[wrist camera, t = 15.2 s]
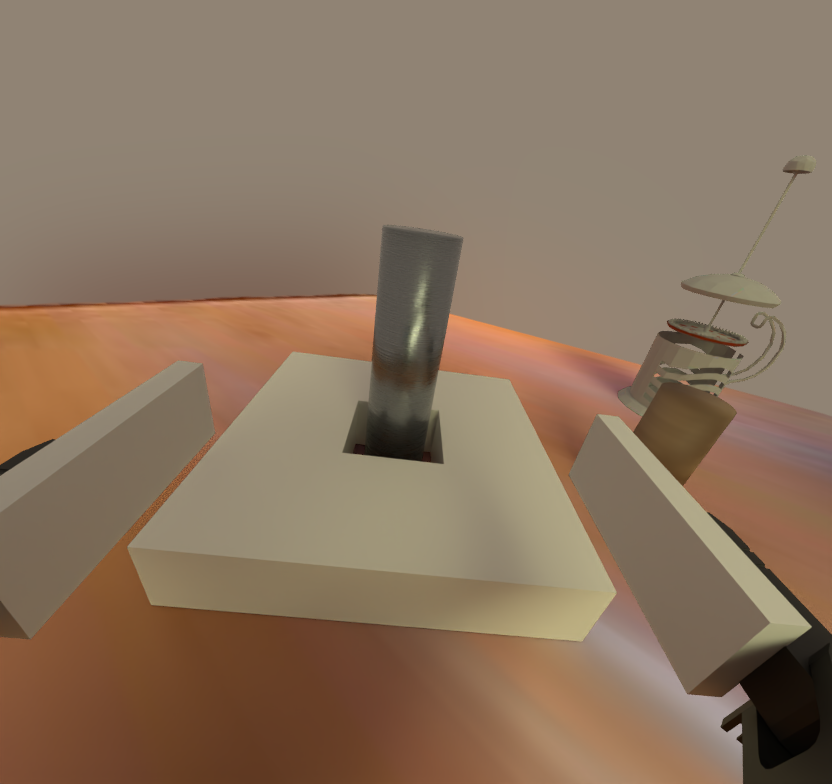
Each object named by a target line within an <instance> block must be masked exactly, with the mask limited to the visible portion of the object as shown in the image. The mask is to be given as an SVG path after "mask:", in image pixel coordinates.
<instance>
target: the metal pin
mask: <svg viewBox="0 0 832 784" xmlns="http://www.w3.org/2000/svg"><path fill="white" fill-rule="evenodd" d="M462 243H463V237H461V236H457V235H453V234H448V233H444V232H439V231H433V230H427V229H421V228H414V227H406V226H396V225H383V228H382V241H381V253H380V265H379V278H378V290H377V303H376V315H375V328H374V340H373V353H372V365H371V377H370V390H369V402H368V415H367V427H366V440H365V452H364V455H367V456H376V457H385V458H394V459H403V460H412V461H420V462H422V458H423V452H424V447H425V441H426V436H427V431H428V425H429V420H430V415H431V409H432V404H433V398H434V393H435V388H436V382H437V377H438V372H439V366H440V361H441V355H442V350H443V345H444V339H445V334H446V329H447V323H448V318H449V312H450V307H451V302H452V296H453V291H454V286H455V280H456V275H457V270H458V264H459V258H460V253H461V248H462Z"/></svg>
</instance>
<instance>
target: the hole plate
mask: <svg viewBox="0 0 832 784" xmlns="http://www.w3.org/2000/svg"><path fill="white" fill-rule="evenodd" d="M371 365H372V362H369V361H362V360H354V359H346V358H338V357H331V356H323V355H315V354H307V353H299V352H292V353H291V354H290V356H289V357H288V358H287V359H286V360H285V361H284V363H283V364H282V365H281V366H280V367H279V368H278V370H277V371H276V372H275V373H274V374H273V376H272V377H271V378H270V379H269V380H268V381H267V383H266V384H265V385H264V386H263V387H262V388H261V390H260V391H259V392H258V393H257V394H256V396H255V397H254V398H253V399H252V400H251V401H250V403H249V404H248V405H247V406H246V407H245V408H244V410H243V411H242V412H241V413H240V414H239V416H238V417H237V418H236V419H235V420H234V421H233V423H232V424H231V425H230V426H229V427H228V429H227V430H226V431H225V432H224V433H223V434H222V436H221V437H220V438H219V439H218V440H217V441H216V443H215V444H214V445H213V446H212V447H211V449H210V450H209V451H208V452H207V453H206V454H205V456H204V457H203V458H202V459H201V460H200V461H199V463H198V464H197V465H196V466H195V467H194V469H193V470H192V471H191V472H190V473H189V474H188V476H187V477H186V478H185V479H184V480H183V481H182V483H181V484H180V485H179V486H178V487H177V489H176V490H175V491H174V492H173V493H172V494H171V496H170V497H169V498H168V499H167V500H166V501H165V503H164V504H163V505H162V506H161V507H160V509H159V510H158V511H157V512H156V513H155V514H154V516H153V517H152V518H151V519H150V520H149V521H148V523H147V524H146V525H145V526H144V527H143V529H142V530H141V531H140V532H139V533H138V534H137V536H136V537H135V538H134V539H133V540H132V542H131V543H130V544H129V545H128V546H127V548H128V551H129V553H130V556H131V558H132V560H133V563H134V565H135V568H136V570H137V572H138V575H139V577H140V580H141V582H142V584H143V587H144V589H145V592H146V594H147V596H148V599H149V601H150V604H151V605H157V606H169V607H181V608H192V609H204V610H216V611H228V612H240V613H251V614H263V615H275V616H287V617H299V618H310V619H322V620H334V621H346V622H358V623H369V624H381V625H393V626H405V627H417V628H428V629H440V630H452V631H464V632H476V633H488V634H499V635H511V636H523V637H535V638H547V639H558V640H570V641H583V639H584V638H585V637H586V635H587V634H588V633H589V631H590V630H591V628H592V627H593V626H594V624H595V623H596V621H597V620H598V619H599V617H600V616H601V614H602V613H603V612H604V610H605V609H606V607H607V606H608V605H609V603H610V602H611V600H612V599H613V598H614V596H615V595H616V593H617V592H616V590H615V588H614V586H613V584H612V582H611V580H610V578H609V576H608V574H607V572H606V570H605V568H604V566H603V564H602V562H601V560H600V558H599V556H598V555H597V553H596V551H595V549H594V547H593V545H592V543H591V541H590V539H589V537H588V535H587V533H586V531H585V529H584V527H583V525H582V523H581V521H580V519H579V517H578V515H577V513H576V511H575V509H574V507H573V505H572V503H571V501H570V499H569V497H568V495H567V493H566V491H565V489H564V487H563V485H562V483H561V481H560V479H559V477H558V475H557V473H556V471H555V469H554V467H553V465H552V463H551V461H550V459H549V457H548V455H547V453H546V451H545V449H544V447H543V445H542V444H541V442H540V440H539V438H538V436H537V434H536V432H535V430H534V428H533V426H532V424H531V422H530V420H529V418H528V416H527V414H526V412H525V410H524V408H523V406H522V404H521V402H520V400H519V398H518V396H517V394H516V392H515V390H514V388H513V386H512V384H511V382H510V380H509V379H501V378H494V377H486V376H478V375H470V374H463V373H455V372H447V371H439V372H438V377H437V382H436V388H435V393H434V398H433V404H432V409H431V415H430V420H429V425H428V431H427V436H426V441H425V447H424V452H431V463H429V462H420V461H412V460H403V459H394V458H385V457H376V456H367V455H358V454H353V451H354V448H355V444H363V445H365V440H366V427H367V415H368V402H369V390H370V377H371Z"/></svg>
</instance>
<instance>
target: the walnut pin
mask: <svg viewBox="0 0 832 784" xmlns="http://www.w3.org/2000/svg"><path fill="white" fill-rule="evenodd" d="M735 415H736V410H735V409H734V408H733V407H732V406H731V405H729V404H728V403H727V402H725V401H723V400H722V399H720V398H718V397H716V396H714V395H712V394H710V393H707V392H705V391H703V390H700V389H697V388H694V387H691V386H688V385H684V384H679V383H673V382H665V383H662V384H661V386H660V388H659V389H658V391H657V393H656V395H655V396H654V398H653V400H652V401H651V403H650V405H649V407H648V408H647V410H646V412H645V413H644V415H643V417H642V418H641V420H640V422H639V424H638V425H637V427H636V429H635V430H634V432H633V433H634V434H635V435H636V436H637V437H638V438H639V440H640V441H641V442H642V443H643V444H644V445H645V446H646V447H647V448H648V449H649V450H650V451H651V453H652V454H653V455H654V456H655V457H656V458H657V459H658V460H659V461H660V462H661V463H662V465H663V466H664V467H665V468H666V469H667V470H668V471H669V472H670V473H671V474H672V475H673V476H674V478H675V479H676V480H677V481H678V482H679V483H680V484H681V485H682V486H683V485H684V484H685V482H686V481H687V480H688V478H689V477H690V476H691V474H692V473H693V472H694V470H695V469H696V468H697V466H698V465H699V464H700V462H701V461H702V460H703V458H704V457H705V455H706V454H707V453H708V451H709V450H710V449H711V447H712V446H713V445H714V443H715V442H716V441H717V439H718V438H719V437H720V435H721V434H722V433H723V431H724V430H725V429H726V427H727V426H728V425H729V423H730V422H731V421H732V419H733V418H734V417H735Z"/></svg>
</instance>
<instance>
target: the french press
mask: <svg viewBox="0 0 832 784" xmlns="http://www.w3.org/2000/svg"><path fill="white" fill-rule="evenodd" d="M815 166H816V160H815V159H814V157H811V156H798V157H795V158H794V159H792V160H790V161H789V162H788V163H787V164H786V165H785V167H784V169H783V172H787V173H793V174H794V176H793V177H792V179H791V181H790V183H789V184H788V186H787V188H786V190H785V191H784V193H783V195H782V197H781V198H780V200H779V202H778V204H777V205H776V207H775V209H774V211H773V212H772V214H771V216H770V218H769V220H768V222H767V223H766V225H765V227H764V228H763V230H762V232H761V234H760V236H759V237H758V239H757V241H756V242H755V244H754V246H753V248H752V250H751V251H750V253H749V255H748V257H747V258H746V260H745V262H744V264H743V265H742V267H741V269H740V271H739V272H738V273H733V274H730V275H729V274H709V275H703V276H696V277H693V278H690V279H687V280H684V281H682V282H681V287H682V288H683V289H685V290H688V291H691V292H694V293H698V294H702V295H705V296H709V297H713V298H718V299H722V302H721V304H720V306H719V307H718V309H717V311H716V313H715V315H714V316H713V318H712V320H711V322H710V323H709V325H706V324H704V325H703V323H701V324H700V322H698V323H699V324H698V323H697V322H696V321H695V322H696V323H695V322H693V321H690V322H688V321H689V320H684V319H683V320H684V321H683V320H681V319H671V320H668V321H667V324H668V326H669V327H670V328H672V329H674V330H675V331H677V332H672V331H661V332H659V333H658V334H657V336H656V338H655V340H654V342H653V344H652V347H651V348H650V350H649V352H648V355H647V356H646V359H645V360H644V363H643V364H642V366H641V368H640V370H639V372H638V374H637V376H636V378H635V380H634V382H633V384H632V386H629V387H626V388H624V389H622V390H620V391H618V398H619V399H620V400H621V401H622V403H623V404H624V405H625V406H626V407H628V408H629V409H631V410H632V411H634V412H635V413H637V414H638V415H640V416H642V417H643V415H644V413H645V412H646V410H647V408H648V407H649V405H650V403H651V401H652V400H653V398H654V396H655V395H656V393H657V391H658V389H659V388H660V386H661V384H662V383H665V382H673V383H679V384H682V383H681V382H679V380H686V381H687V382H688V383H689V384H690V385H688V386H691V387H694V388H697V389H700V390H703V391H705V392H707V393H710V392H714V396H716V397H718V395H719V394H720V392H721V391H722V389H723V388H724V386H725V385H726V384H729V383H734V382H740V381H745V380H748V379H750V378H753V377H756V376H757V375H758V374H760V373H762V372H764V371H765V370H766V369H767V368H768V367H770V366H771V365H772V364H773V363H774V362H775V360H776V359H777V357H778V356H779V355H780V353H781V352H782V350H783V348H784V345H785V340H786V331H785V328H784V325H783V324H782V323H781V322H780V321H779V320H778V319H777V318H776V317H775V316H768V315H767V314H766V313H764V312H758V313H757V314H756V315H755V316H754V317H753V319H752V321H751V325H752V326H753V327H755V328H761V327H762V326H763V325H764V324H765V323H766V321H767V320H769V322H770V325H771V328H772V335H771V339H770V343H769V345H768V347H767V348H766V350H765V351H764V353H763V354H762V356H761V357H760V358H759V359H757V360H756V361H755V362H754V363H753V364H752V365H750V366H749V367H747V368H746V369H744V370H741V371H738V372H735V373H733V372H734V371H735V369H736V367H737V366H738V364H739V363H740V361H741V360H742V358H743V355H741V354H739V356H738V357H737V359H731V358H732V357H733V355H734V354H735V352H736V351H735V350H733V349H731V348H730V347H728V346H733V347H739V346H744V345H746V344H747V343H748V340H747V339H746V338H744V337H743V336H741V335H738V334H736V333H734V334H733V332H731V333H730V331H728V332H727V330H725V331H724V330H723V329H722V330H721V329H720V328H719V329H717V327H715V328H714V327H713V326H711V324H712V322H713V320H714V319H715V317H716V315H717V314H718V312H719V310H720V308H721V306H722V305H723V303H724V301H725V300H726V301H731V302H736V303H741V304H746V305H752V306H758V307H766V308H774V307H776V306H778V305H780V304H781V301H780V300H779V298H778V297H777V296H776V295H775V293H774V292H773V291H771V290H770V289H769V288H767V287H766V286H764V285H763V284H762V283H759V282H756V281H753V280H751V279H748V278H745V276H744V275H743V274H740V273H741V272H742V270H743V268H744V266H745V265H746V263H747V261H748V259H749V258H750V256H751V254H752V252H753V251H754V249H755V247H756V246H757V244H758V242H759V240H760V239H761V237H762V235H763V233H764V232H765V229H766V228H767V226H768V225H769V223H770V221H771V219H772V218H773V216H774V214H775V212H776V211H777V209H778V207H779V205H780V204H781V202H782V200H783V198H784V197H785V194H786V193H787V191H788V189H789V188H790V186H791V184H792V183H793V181H794V179H795V177H796V176H797V174H802V173H803V174H806V173H811V172H812V171H813V170H814V168H815ZM758 315H764V316H765V317H766V318H765V319H764V320H763V322H762V323H761V325H760V326H757V325H755V324H754V321H755V320H756V318H757V316H758ZM772 319H773V320H774V321H776V322H777V323H778V324H779V326H780V329H781V331H782V342H781V345H780V348H779V351H778V352H777V353H776V355H775V356H774V357H773V358H772V360H771V361H770V362H769V363H768V365H767V366H766V367H764V368H763V369H761V370H760V371H759V372H757V373H756V374H755V375H752V376H749V377H746V378H744V379H737V380H730V381H728V380H729V378H730V377H731V376H733V375H737V374H740V373H742V372H745V371H747V370H749V369H750V368H752V367H753V366H754V365H756V364H757V363H758V362H759V361H761V360H762V359H763V358H764V357H765V355H766V354H767V352H768V350H769V349H770V348H771V346H772V344H773V340H774V337H775V325H774V322H773V320H772ZM675 343H681V344H692V345H694V346H696V347H698V348H700V349H702V350H703V351H704V352H705V353H706V354H704V353H700V352H696V351H693V350H690V349H687V348H684V347H681V346H679V345H676V344H675ZM725 345H726V346H725ZM665 363H666V364H667V365H668V366H670V367H676V368H682V369H690V370H691V371H692V372H693V373H694V374H686V373H684V372H682V371H680V370H678V369H676V368H667V367H664V368H661V367H660V366H659V365H661V364H665ZM698 368H700V370H699V369H698ZM724 369H727V370H729V372H728V373H727V374H722V372H723V371H724ZM657 373H658V374H659V375H661V376H662V377H661V376H659V377H654V374H657ZM721 374H722V375H721ZM717 381H720V382H721V384H720V385H719V387H716V386H714V385H715V384H716V382H717Z"/></svg>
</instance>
